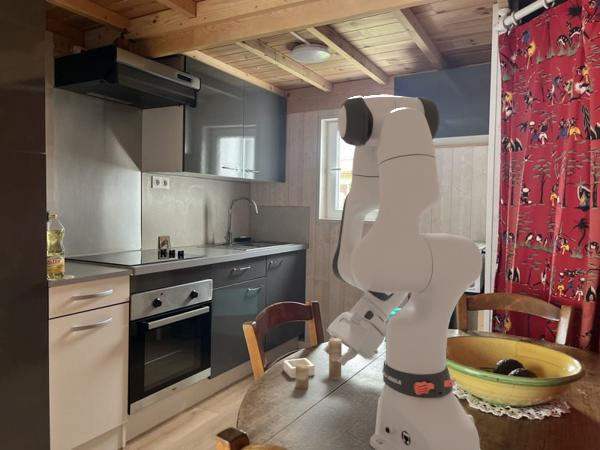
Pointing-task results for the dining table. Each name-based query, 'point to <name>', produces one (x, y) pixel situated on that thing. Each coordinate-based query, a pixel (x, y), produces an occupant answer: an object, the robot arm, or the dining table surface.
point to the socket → (291, 365)
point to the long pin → (335, 358)
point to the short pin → (302, 377)
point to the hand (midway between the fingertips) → (333, 357)
